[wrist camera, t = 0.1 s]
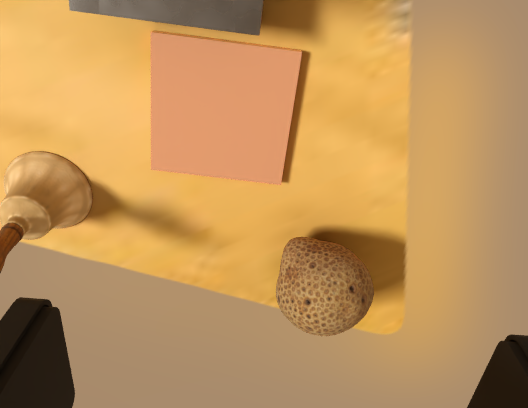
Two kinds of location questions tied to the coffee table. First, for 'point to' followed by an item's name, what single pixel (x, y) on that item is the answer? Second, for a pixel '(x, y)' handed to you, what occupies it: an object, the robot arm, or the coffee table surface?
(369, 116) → the coffee table surface
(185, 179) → the coffee table surface
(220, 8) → the frame
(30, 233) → the hand bell
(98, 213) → the coffee table surface
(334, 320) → the natural sponge
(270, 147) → the terracotta tile
